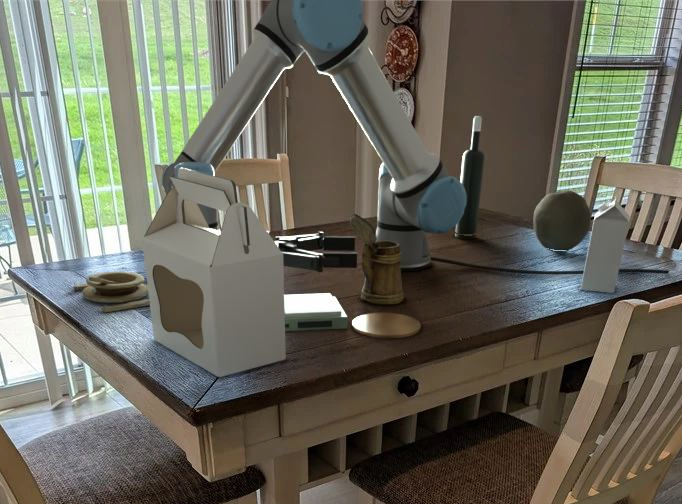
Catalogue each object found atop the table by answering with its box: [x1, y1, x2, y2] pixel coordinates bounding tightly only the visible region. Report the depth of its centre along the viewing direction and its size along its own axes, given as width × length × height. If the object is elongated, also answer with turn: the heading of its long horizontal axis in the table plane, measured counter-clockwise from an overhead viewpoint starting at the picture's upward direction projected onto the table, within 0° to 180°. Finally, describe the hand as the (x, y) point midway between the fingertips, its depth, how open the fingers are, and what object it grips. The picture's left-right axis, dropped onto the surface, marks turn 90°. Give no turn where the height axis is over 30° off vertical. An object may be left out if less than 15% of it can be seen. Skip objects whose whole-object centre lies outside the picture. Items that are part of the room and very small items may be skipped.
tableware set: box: [73, 271, 150, 313], centre depth 153 cm, size 30×20×6 cm, turn 125°
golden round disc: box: [351, 312, 422, 339], centre depth 137 cm, size 13×13×1 cm
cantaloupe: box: [532, 190, 591, 253], centre depth 186 cm, size 14×14×15 cm
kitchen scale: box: [284, 292, 349, 332], centre depth 139 cm, size 14×13×3 cm
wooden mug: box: [349, 213, 405, 306], centre depth 146 cm, size 9×14×18 cm, turn 134°
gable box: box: [141, 168, 287, 379], centre depth 118 cm, size 22×13×28 cm, turn 40°
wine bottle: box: [454, 115, 486, 240], centre depth 195 cm, size 6×6×30 cm
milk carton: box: [580, 194, 631, 294], centre depth 158 cm, size 7×7×19 cm
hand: (356, 251), depth 146 cm, fingers open, 13 cm apart
